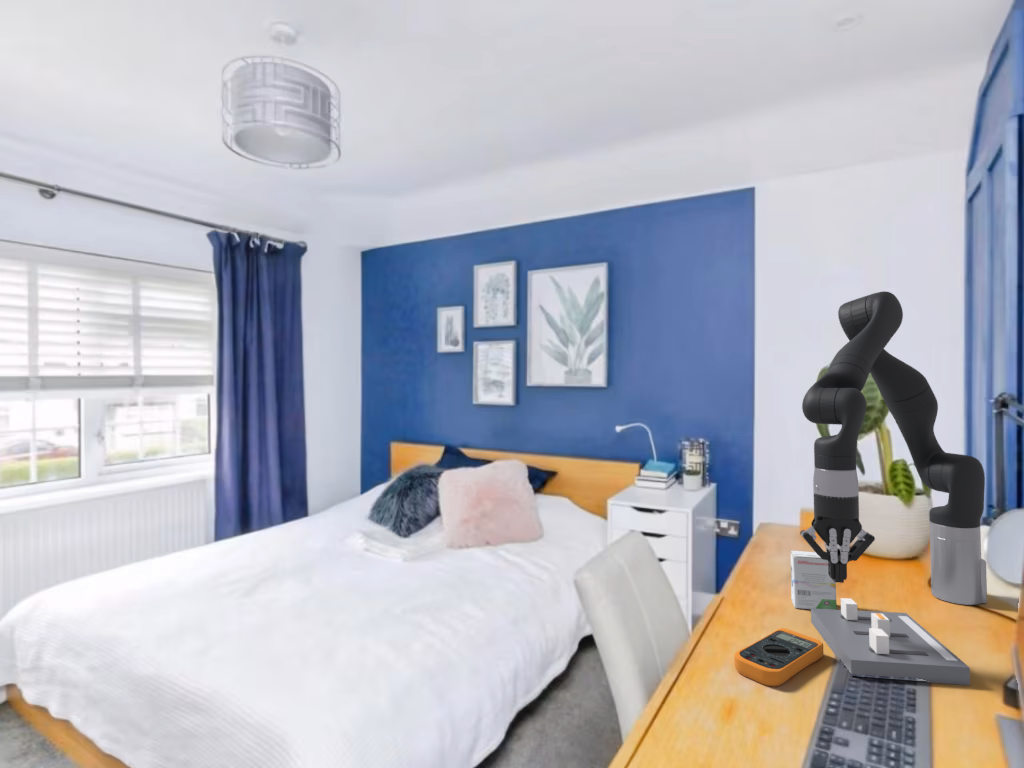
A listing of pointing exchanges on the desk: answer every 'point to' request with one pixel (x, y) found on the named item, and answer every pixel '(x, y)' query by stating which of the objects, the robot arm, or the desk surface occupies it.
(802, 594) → the ink box
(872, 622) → the breaker
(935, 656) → the slider switch panel
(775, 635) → the multimeter
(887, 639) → the breaker
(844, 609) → the block
